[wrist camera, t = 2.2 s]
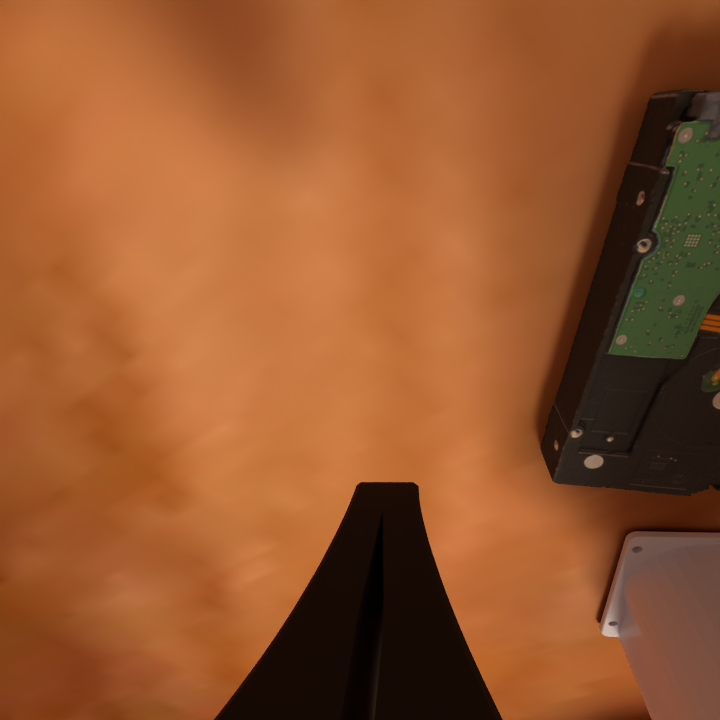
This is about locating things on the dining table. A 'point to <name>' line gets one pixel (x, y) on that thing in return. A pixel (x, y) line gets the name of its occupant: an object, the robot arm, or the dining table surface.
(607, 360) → the disk drive
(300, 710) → the robot arm
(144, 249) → the dining table surface
